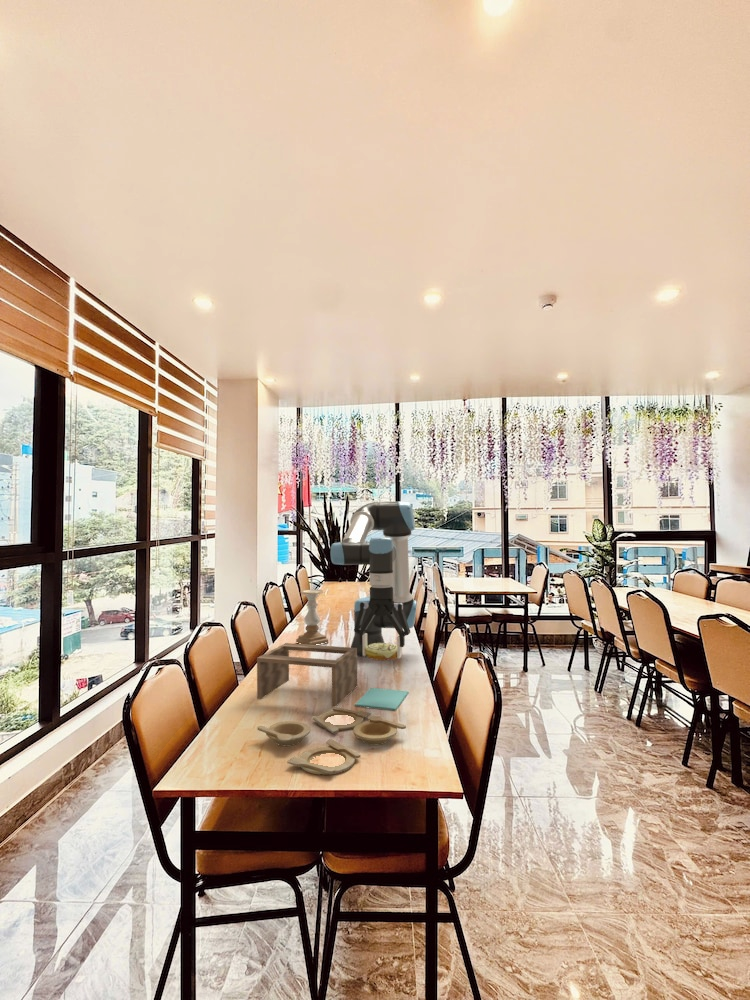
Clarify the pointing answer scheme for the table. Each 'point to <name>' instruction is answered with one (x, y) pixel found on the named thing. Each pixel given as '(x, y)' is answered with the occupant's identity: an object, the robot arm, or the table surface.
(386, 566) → the robot arm
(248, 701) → the table surface
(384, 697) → the mat
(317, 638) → the candle holder
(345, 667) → the box
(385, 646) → the decorated donut
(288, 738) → the tableware set
